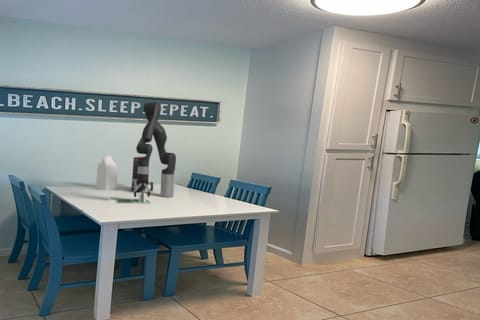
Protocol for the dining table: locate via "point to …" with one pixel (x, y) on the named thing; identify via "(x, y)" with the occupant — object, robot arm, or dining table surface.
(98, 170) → the milk
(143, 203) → the board
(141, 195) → the plug
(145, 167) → the robot arm
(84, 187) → the dining table surface
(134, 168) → the graphics card box
